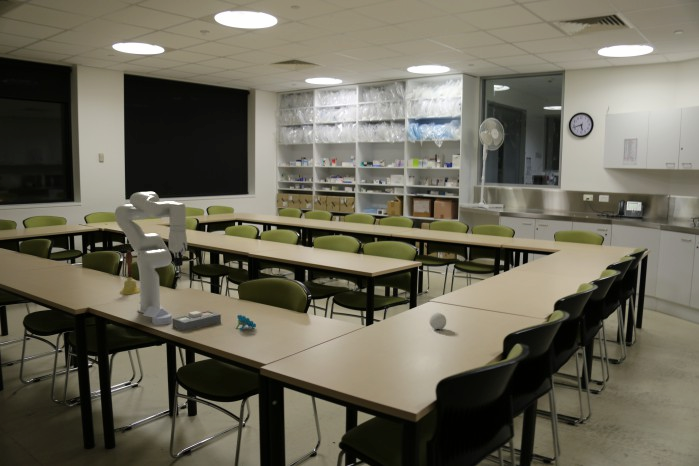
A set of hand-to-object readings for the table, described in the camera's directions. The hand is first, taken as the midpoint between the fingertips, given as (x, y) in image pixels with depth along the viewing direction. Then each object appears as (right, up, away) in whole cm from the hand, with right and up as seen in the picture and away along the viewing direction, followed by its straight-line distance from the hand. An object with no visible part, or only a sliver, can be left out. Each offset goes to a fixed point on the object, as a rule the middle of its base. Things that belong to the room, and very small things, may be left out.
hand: (178, 265), depth 267 cm
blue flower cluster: (+35, -29, -11) cm, 47 cm away
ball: (+126, -30, -8) cm, 129 cm away
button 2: (+9, -25, -4) cm, 27 cm away
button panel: (+10, -28, -5) cm, 30 cm away
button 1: (+5, -28, -9) cm, 29 cm away
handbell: (-48, -20, +59) cm, 79 cm away
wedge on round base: (-9, -28, -1) cm, 29 cm away
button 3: (+13, -27, +1) cm, 30 cm away
